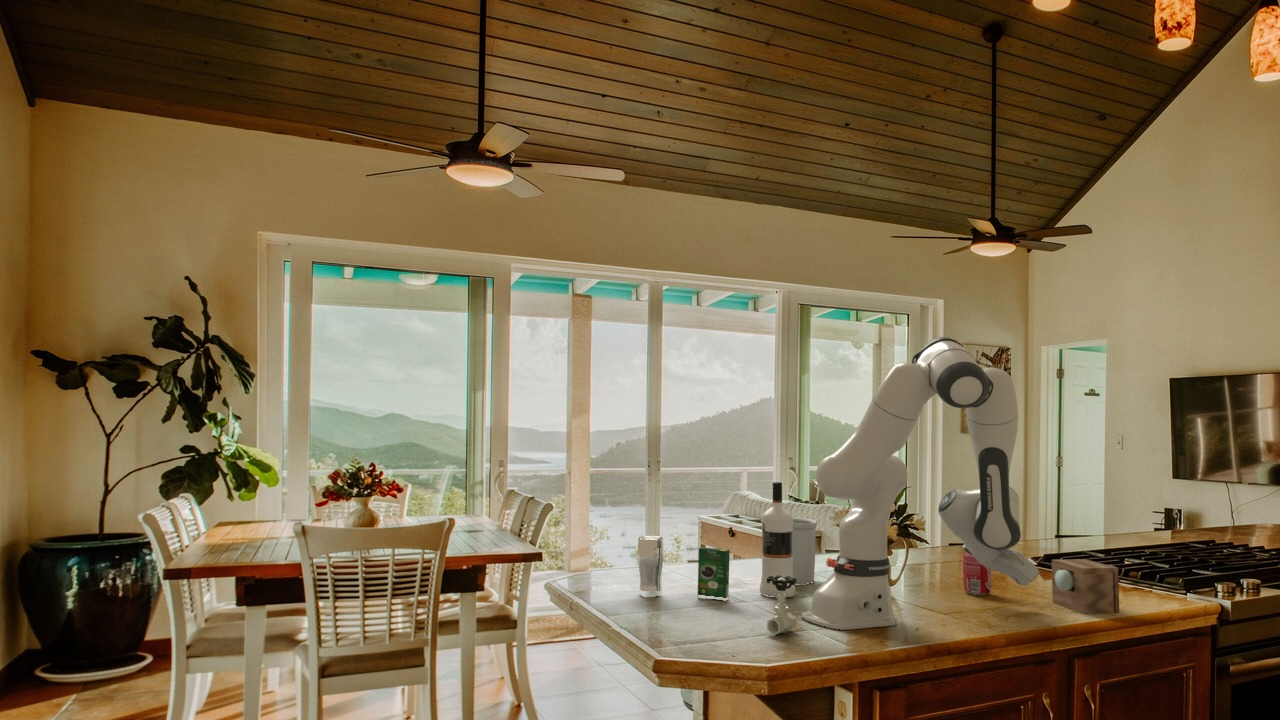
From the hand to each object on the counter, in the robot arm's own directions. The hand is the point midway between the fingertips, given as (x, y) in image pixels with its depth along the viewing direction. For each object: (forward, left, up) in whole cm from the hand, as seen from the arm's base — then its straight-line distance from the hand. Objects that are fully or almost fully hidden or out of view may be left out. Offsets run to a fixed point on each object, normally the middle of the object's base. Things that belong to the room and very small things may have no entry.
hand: (1024, 583), depth 203 cm
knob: (+13, -6, -2) cm, 15 cm away
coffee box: (-64, +45, -6) cm, 78 cm away
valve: (-70, +11, -6) cm, 71 cm away
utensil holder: (-30, +54, -6) cm, 62 cm away
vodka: (-46, +41, -6) cm, 62 cm away
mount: (+15, -7, -6) cm, 17 cm away
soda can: (+4, +17, -6) cm, 19 cm away
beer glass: (-76, +57, -6) cm, 95 cm away
